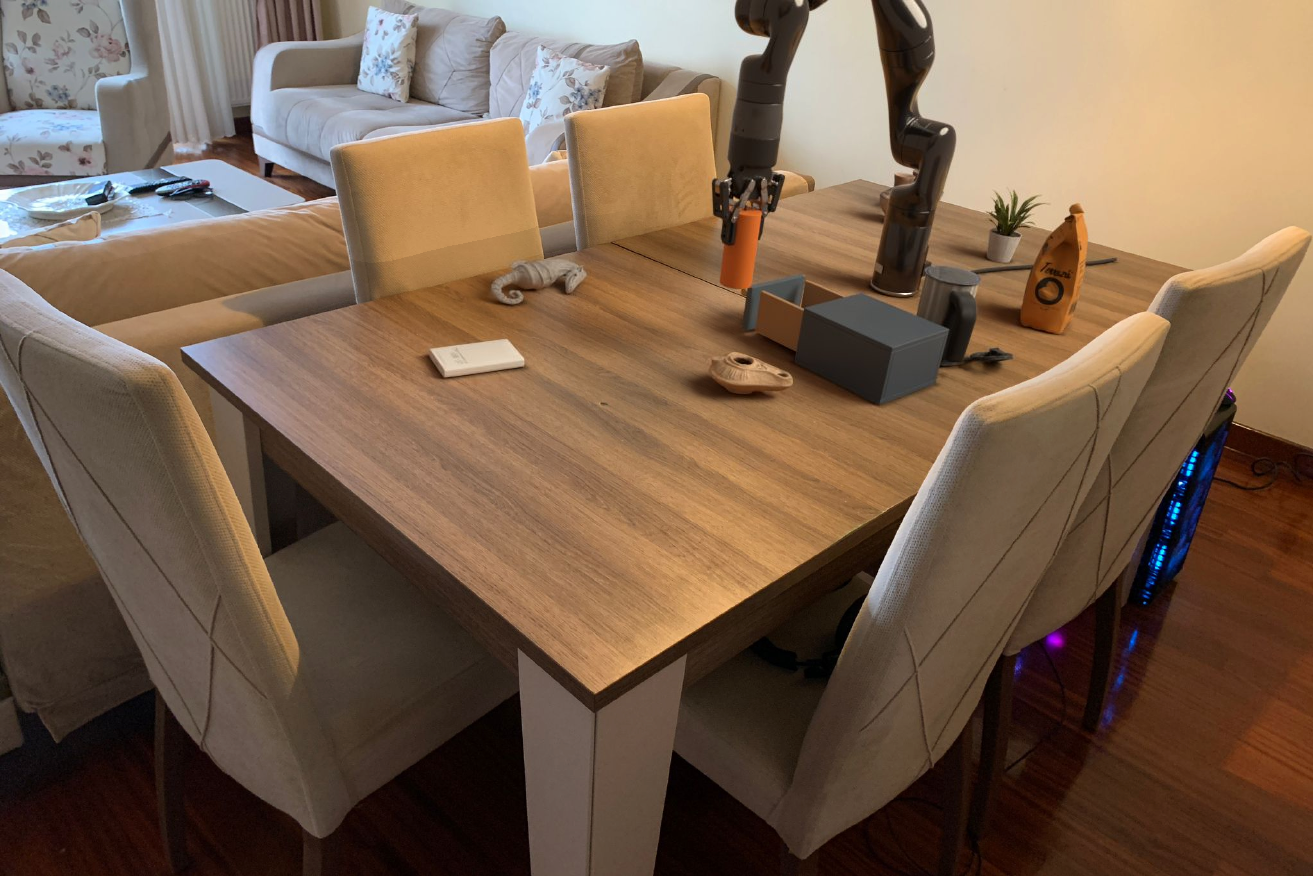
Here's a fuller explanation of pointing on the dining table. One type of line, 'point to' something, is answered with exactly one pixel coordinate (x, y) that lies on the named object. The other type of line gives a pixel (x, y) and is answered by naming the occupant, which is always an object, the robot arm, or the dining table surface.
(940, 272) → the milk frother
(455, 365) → the hard drive
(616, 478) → the dining table surface
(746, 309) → the drawer
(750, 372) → the pottery oil lamp
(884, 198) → the pottery
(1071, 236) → the coffee package
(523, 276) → the seahorse
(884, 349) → the cabinet
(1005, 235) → the house plant
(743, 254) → the candle
